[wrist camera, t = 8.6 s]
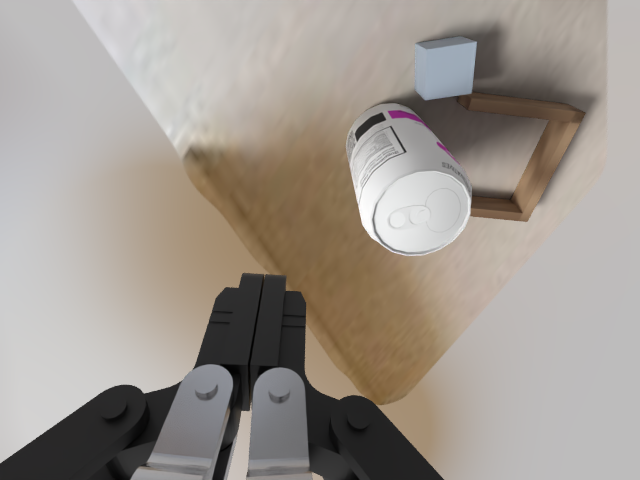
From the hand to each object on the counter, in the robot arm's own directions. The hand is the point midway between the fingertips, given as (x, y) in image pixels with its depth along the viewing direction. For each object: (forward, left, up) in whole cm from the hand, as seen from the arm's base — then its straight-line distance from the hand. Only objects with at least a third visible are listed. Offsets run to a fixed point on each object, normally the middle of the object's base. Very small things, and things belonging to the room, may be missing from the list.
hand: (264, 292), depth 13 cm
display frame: (+4, +21, -27) cm, 35 cm away
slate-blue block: (-4, +13, -27) cm, 30 cm away
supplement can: (+4, +10, -27) cm, 29 cm away
